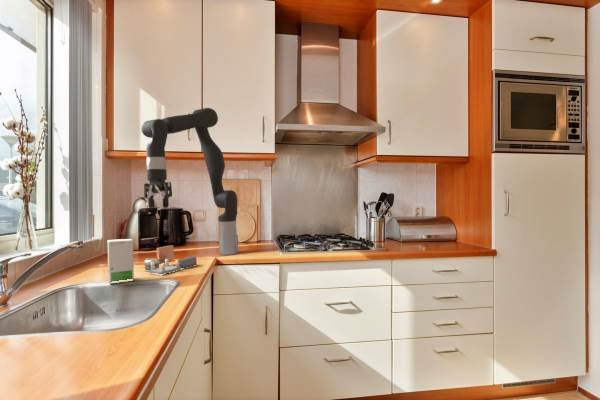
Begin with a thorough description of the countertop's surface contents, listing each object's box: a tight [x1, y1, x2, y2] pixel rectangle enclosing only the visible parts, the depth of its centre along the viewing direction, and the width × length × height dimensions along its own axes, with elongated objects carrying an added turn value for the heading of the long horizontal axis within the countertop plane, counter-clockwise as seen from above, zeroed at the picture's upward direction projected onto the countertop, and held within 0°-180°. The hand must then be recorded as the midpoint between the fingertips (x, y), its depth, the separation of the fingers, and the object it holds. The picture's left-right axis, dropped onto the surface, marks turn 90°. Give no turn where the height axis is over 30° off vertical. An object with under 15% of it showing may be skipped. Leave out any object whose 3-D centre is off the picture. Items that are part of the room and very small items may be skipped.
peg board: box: [148, 259, 182, 274], centre depth 141 cm, size 10×8×4 cm
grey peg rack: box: [143, 244, 175, 267], centre depth 150 cm, size 14×6×7 cm, turn 151°
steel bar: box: [177, 256, 198, 269], centre depth 150 cm, size 8×4×4 cm, turn 151°
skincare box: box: [106, 238, 135, 283], centre depth 128 cm, size 8×7×16 cm
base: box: [144, 264, 160, 270], centre depth 147 cm, size 6×6×2 cm
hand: (158, 207), depth 142 cm, fingers open, 8 cm apart
